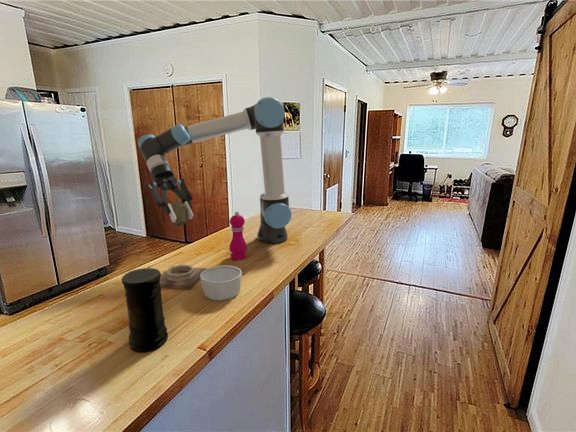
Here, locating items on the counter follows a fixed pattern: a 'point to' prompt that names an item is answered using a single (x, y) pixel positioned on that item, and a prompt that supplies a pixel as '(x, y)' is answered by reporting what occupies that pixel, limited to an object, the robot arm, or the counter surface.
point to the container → (145, 309)
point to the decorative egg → (179, 213)
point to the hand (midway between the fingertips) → (183, 218)
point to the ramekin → (221, 282)
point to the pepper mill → (237, 238)
